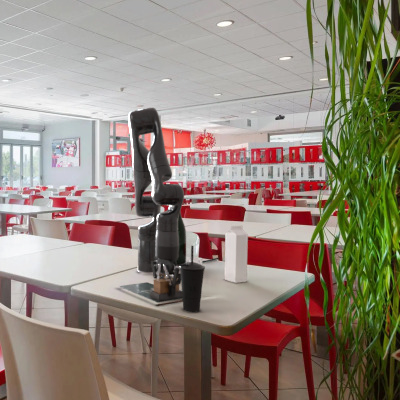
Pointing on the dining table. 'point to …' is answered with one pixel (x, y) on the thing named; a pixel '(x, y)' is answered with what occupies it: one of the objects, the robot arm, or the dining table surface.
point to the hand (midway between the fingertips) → (166, 294)
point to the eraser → (163, 290)
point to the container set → (196, 260)
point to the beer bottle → (181, 241)
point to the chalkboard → (147, 292)
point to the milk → (236, 255)
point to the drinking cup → (191, 284)
